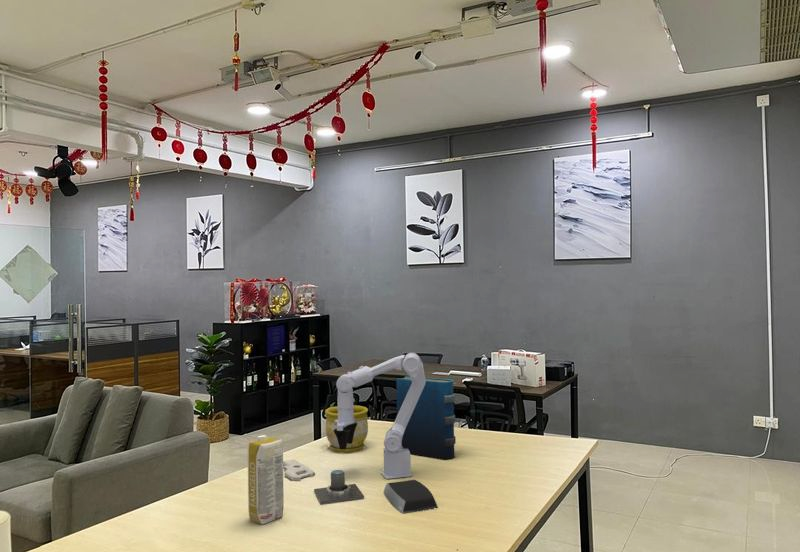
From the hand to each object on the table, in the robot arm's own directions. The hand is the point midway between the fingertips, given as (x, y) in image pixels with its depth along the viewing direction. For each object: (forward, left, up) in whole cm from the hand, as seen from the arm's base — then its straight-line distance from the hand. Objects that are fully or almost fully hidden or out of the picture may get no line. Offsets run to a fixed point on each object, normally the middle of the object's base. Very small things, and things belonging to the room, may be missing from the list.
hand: (346, 446), depth 208 cm
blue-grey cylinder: (+7, +19, -9) cm, 22 cm away
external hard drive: (-13, +31, -11) cm, 36 cm away
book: (-37, -14, -11) cm, 41 cm away
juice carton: (+31, +30, -11) cm, 44 cm away
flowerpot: (-8, -34, -11) cm, 37 cm away
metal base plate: (+7, +19, -10) cm, 23 cm away
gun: (+17, -9, -11) cm, 22 cm away
